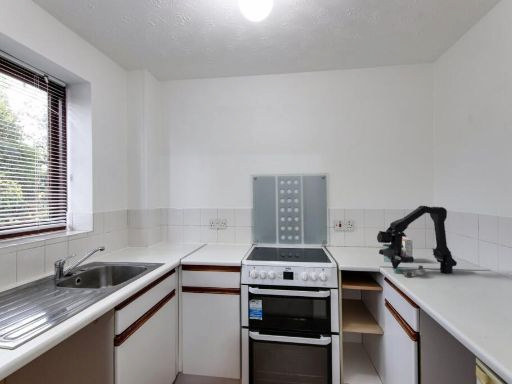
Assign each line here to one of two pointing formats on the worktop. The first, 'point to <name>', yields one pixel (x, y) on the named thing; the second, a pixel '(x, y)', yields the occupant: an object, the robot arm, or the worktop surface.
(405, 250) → the candy bar box
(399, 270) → the hinged jaw
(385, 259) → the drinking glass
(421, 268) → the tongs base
